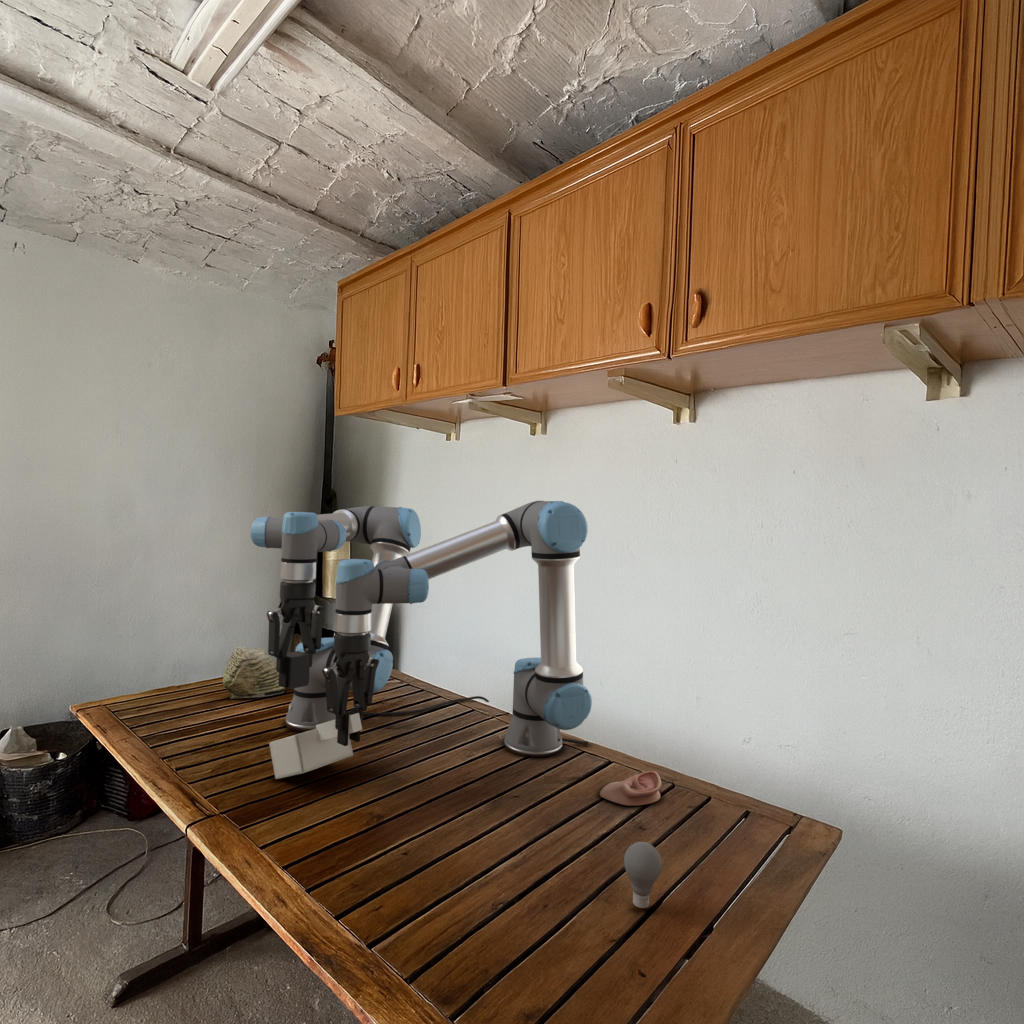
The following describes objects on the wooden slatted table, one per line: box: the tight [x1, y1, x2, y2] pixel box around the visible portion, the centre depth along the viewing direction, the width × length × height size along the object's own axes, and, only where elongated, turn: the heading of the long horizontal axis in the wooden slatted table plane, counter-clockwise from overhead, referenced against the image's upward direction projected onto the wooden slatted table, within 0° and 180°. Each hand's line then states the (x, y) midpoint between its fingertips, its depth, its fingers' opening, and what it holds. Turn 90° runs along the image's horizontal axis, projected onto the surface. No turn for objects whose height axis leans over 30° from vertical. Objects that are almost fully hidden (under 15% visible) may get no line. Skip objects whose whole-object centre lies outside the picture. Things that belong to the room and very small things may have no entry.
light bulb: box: [623, 841, 663, 909], centre depth 102 cm, size 6×6×10 cm
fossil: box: [222, 646, 287, 699], centre depth 198 cm, size 9×18×15 cm, turn 132°
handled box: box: [268, 713, 363, 780], centre depth 140 cm, size 13×24×9 cm, turn 51°
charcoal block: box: [286, 650, 309, 690], centre depth 142 cm, size 4×4×7 cm
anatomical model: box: [599, 770, 662, 806], centre depth 141 cm, size 13×4×12 cm
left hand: (293, 683), depth 142 cm, fingers closed on charcoal block, 4 cm apart
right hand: (348, 741), depth 135 cm, fingers closed on handled box, 2 cm apart
